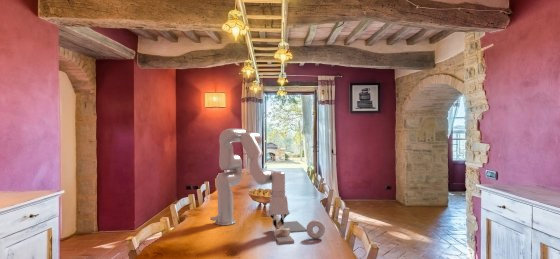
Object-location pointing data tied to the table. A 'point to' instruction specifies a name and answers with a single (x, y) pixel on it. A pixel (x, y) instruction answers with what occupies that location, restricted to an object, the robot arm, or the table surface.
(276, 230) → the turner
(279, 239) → the tile
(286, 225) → the mat
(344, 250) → the table surface
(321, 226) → the donut
